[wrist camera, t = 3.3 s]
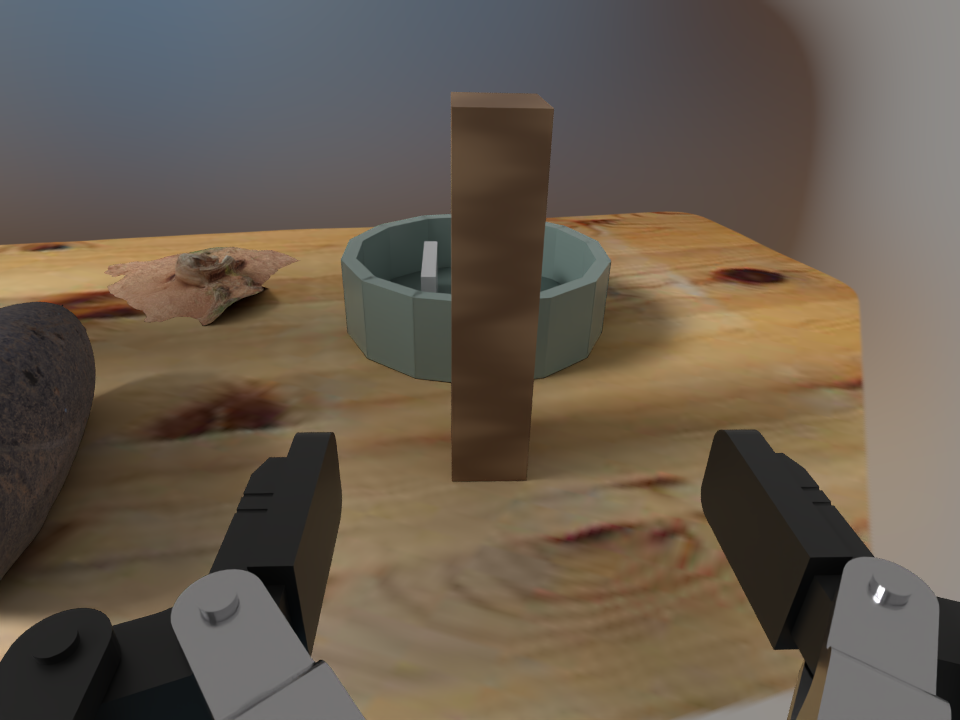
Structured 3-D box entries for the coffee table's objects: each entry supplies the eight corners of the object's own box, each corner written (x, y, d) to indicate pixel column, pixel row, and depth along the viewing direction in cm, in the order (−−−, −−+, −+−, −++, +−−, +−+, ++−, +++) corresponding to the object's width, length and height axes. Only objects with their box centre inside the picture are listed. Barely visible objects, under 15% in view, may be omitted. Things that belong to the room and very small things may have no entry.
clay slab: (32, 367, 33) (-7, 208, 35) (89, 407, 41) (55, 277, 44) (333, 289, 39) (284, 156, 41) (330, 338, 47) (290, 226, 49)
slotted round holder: (330, 386, 31) (321, 303, 29) (366, 274, 44) (361, 211, 42) (627, 384, 32) (640, 304, 29) (573, 274, 45) (579, 213, 43)
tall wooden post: (451, 481, 25) (451, 106, 18) (451, 423, 28) (450, 92, 21) (526, 480, 25) (553, 108, 18) (516, 423, 28) (536, 93, 22)
